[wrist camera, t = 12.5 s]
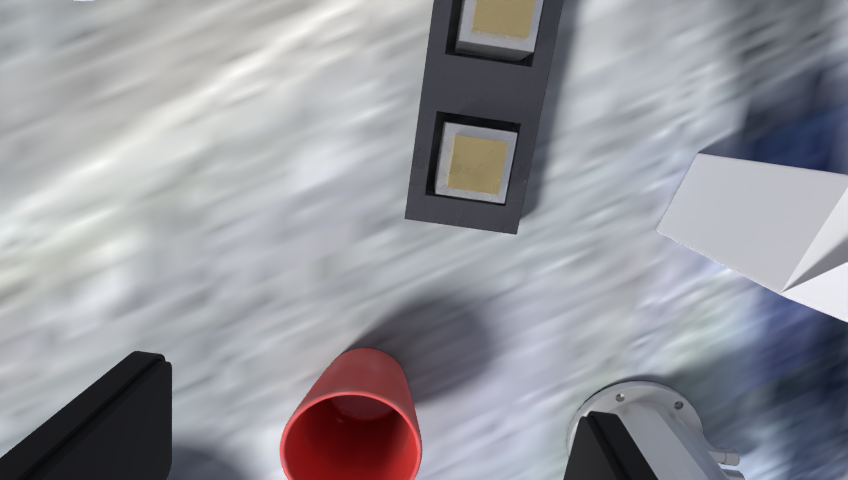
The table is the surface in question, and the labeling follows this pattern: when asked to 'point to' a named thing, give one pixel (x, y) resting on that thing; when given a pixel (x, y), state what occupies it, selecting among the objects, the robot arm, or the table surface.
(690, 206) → the milk carton
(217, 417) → the table surface
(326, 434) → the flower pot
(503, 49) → the grey and tan block
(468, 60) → the dark grey slotted board
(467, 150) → the tan topped grey block
